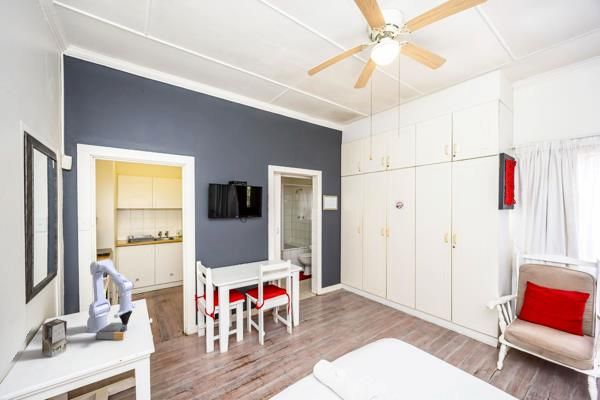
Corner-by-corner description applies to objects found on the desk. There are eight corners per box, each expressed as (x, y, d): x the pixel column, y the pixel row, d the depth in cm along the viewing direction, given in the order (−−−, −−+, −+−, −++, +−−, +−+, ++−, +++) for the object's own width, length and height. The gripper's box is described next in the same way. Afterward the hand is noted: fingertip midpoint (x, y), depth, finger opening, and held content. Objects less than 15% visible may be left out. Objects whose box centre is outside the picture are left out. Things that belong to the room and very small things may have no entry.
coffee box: (66, 350, 132) (67, 321, 132) (51, 357, 126) (52, 326, 126) (56, 347, 135) (57, 318, 135) (41, 353, 129) (41, 323, 129)
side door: (95, 338, 143) (95, 332, 143) (97, 337, 144) (97, 331, 144) (122, 339, 143) (122, 333, 143) (124, 338, 144) (124, 332, 144)
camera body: (98, 338, 144) (98, 330, 144) (111, 329, 154) (111, 321, 154) (115, 338, 144) (115, 330, 144) (128, 330, 154) (128, 322, 154)
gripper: (122, 307, 139) (122, 330, 139) (140, 297, 153) (139, 318, 153) (110, 306, 139) (110, 330, 139) (129, 297, 154) (128, 318, 153)
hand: (125, 324), depth 146 cm, fingers closed
